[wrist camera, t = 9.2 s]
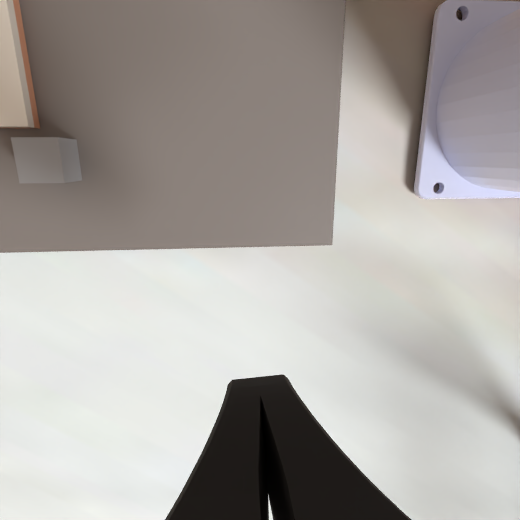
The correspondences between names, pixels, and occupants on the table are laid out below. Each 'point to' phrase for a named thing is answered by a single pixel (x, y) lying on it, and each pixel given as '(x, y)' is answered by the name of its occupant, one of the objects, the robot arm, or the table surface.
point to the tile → (15, 72)
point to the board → (175, 126)
